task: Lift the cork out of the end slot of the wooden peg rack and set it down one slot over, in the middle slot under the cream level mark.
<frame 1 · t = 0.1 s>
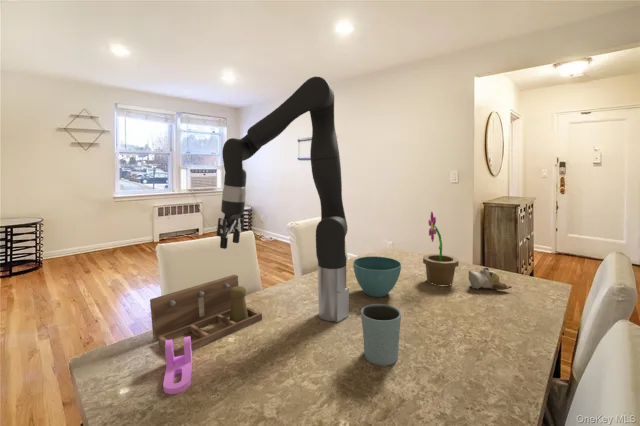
hand: (229, 245, 111), 22 cm above the table, fingers open, 8 cm apart
light blue cup: (380, 356, 84), on the table
plant pot: (376, 293, 125), on the table
wooden peg rack: (214, 330, 97), on the table
ceramic sculpture: (486, 288, 130), on the table
bracket: (178, 377, 76), on the table
flowerpot: (439, 282, 137), on the table
cork: (239, 320, 104), resting in wooden peg rack
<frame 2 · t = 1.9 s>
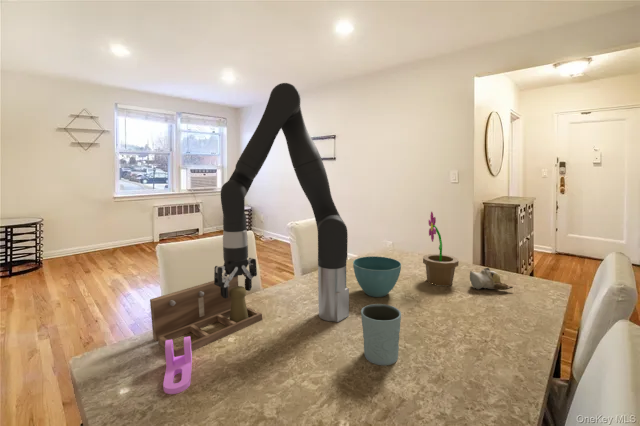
hand: (236, 293, 103), 9 cm above the table, fingers open, 8 cm apart
nothing on the table moved.
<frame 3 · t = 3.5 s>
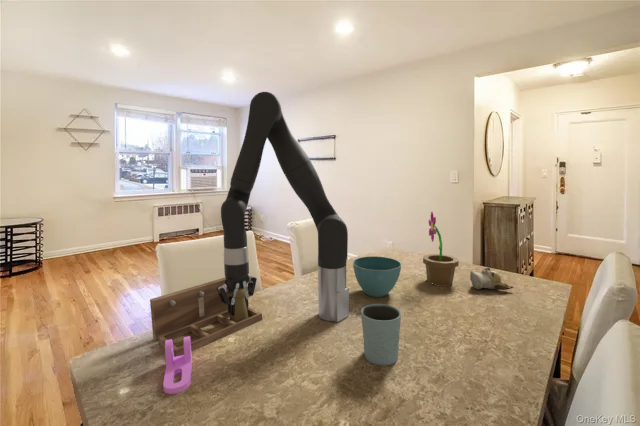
hand: (238, 311, 104), 3 cm above the table, fingers closed on cork, 4 cm apart
cork: (239, 320, 104), resting in wooden peg rack, touching gripper
everything else where it was.
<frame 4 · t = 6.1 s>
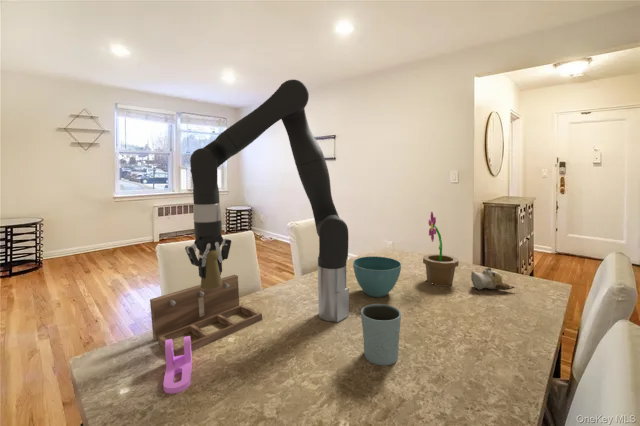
hand: (211, 276, 95), 17 cm above the table, fingers closed on cork, 4 cm apart
cork: (211, 285, 95), point 14 cm above the table, touching gripper
everything else where it was.
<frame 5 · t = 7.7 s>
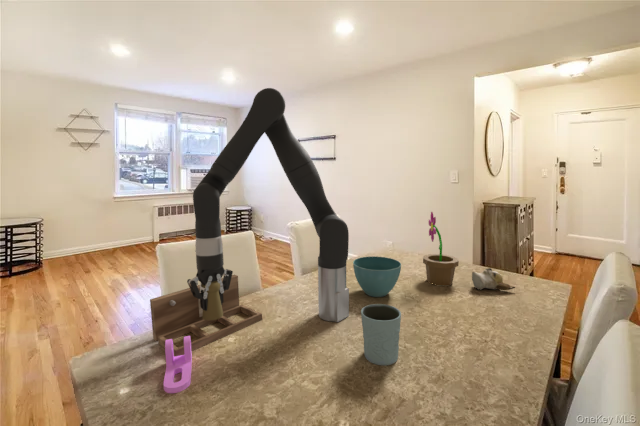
hand: (212, 307, 96), 7 cm above the table, fingers closed on cork, 4 cm apart
cork: (212, 316, 97), point 5 cm above the table, touching gripper
when the fingers open (5 cm above the table, at t = 9.0 s): cork drops 2 cm, resting in wooden peg rack.
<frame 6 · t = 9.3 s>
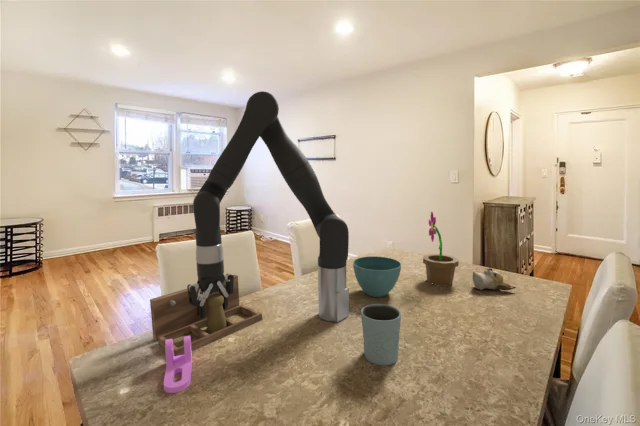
hand: (213, 312, 97), 6 cm above the table, fingers open, 6 cm apart
cork: (217, 329, 98), resting in wooden peg rack, touching gripper
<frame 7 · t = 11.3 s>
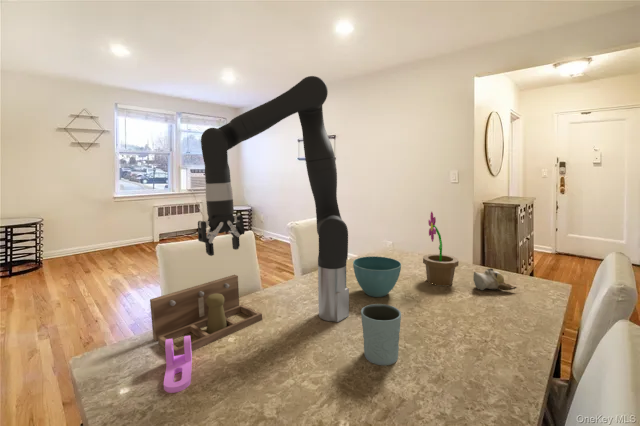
hand: (223, 252, 97), 24 cm above the table, fingers open, 8 cm apart
cork: (217, 330, 98), resting in wooden peg rack
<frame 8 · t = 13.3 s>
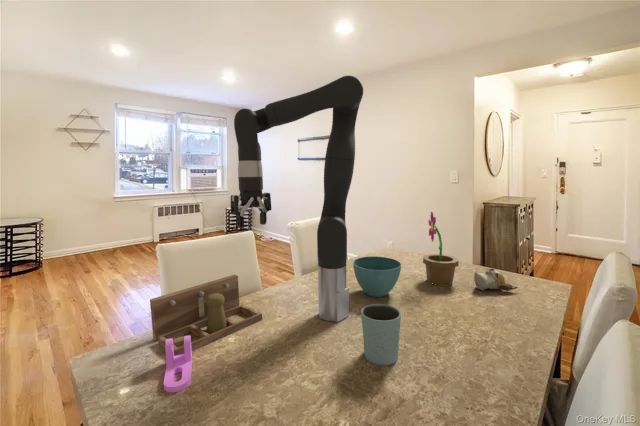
hand: (252, 226, 104), 30 cm above the table, fingers open, 8 cm apart
at the end: cork 1.0 cm off-centre on the wooden peg rack, point 0.0 cm above the wooden peg rack's base; cork tilted 0°; the gripper is holding nothing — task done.
